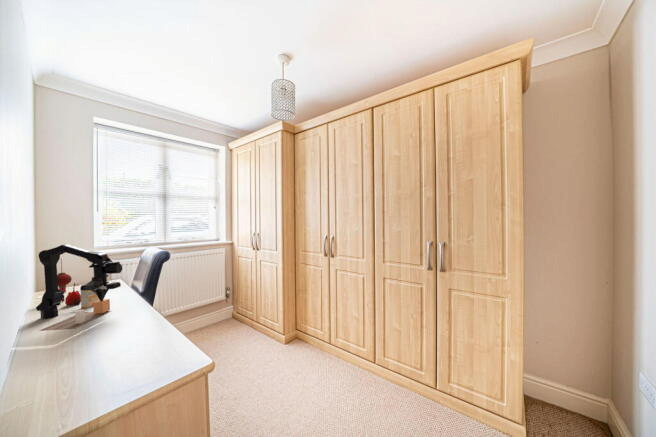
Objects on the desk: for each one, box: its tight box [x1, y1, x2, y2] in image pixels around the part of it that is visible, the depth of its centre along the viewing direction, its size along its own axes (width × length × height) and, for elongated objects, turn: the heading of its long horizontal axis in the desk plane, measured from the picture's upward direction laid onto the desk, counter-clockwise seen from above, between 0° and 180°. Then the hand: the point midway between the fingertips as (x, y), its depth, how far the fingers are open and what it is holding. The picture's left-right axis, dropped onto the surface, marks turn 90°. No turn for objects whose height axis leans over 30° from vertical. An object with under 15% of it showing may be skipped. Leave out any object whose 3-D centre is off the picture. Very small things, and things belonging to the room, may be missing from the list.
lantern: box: [57, 260, 73, 303], centre depth 177 cm, size 10×10×30 cm
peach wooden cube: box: [92, 298, 111, 314], centre depth 151 cm, size 5×5×7 cm
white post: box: [75, 308, 86, 324], centre depth 137 cm, size 3×3×8 cm
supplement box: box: [80, 290, 99, 309], centre depth 167 cm, size 8×5×13 cm, turn 179°
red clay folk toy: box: [64, 282, 81, 307], centre depth 170 cm, size 8×7×15 cm
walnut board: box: [39, 310, 112, 332], centre depth 141 cm, size 17×24×1 cm
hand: (101, 300), depth 151 cm, fingers closed, pressing on peach wooden cube
